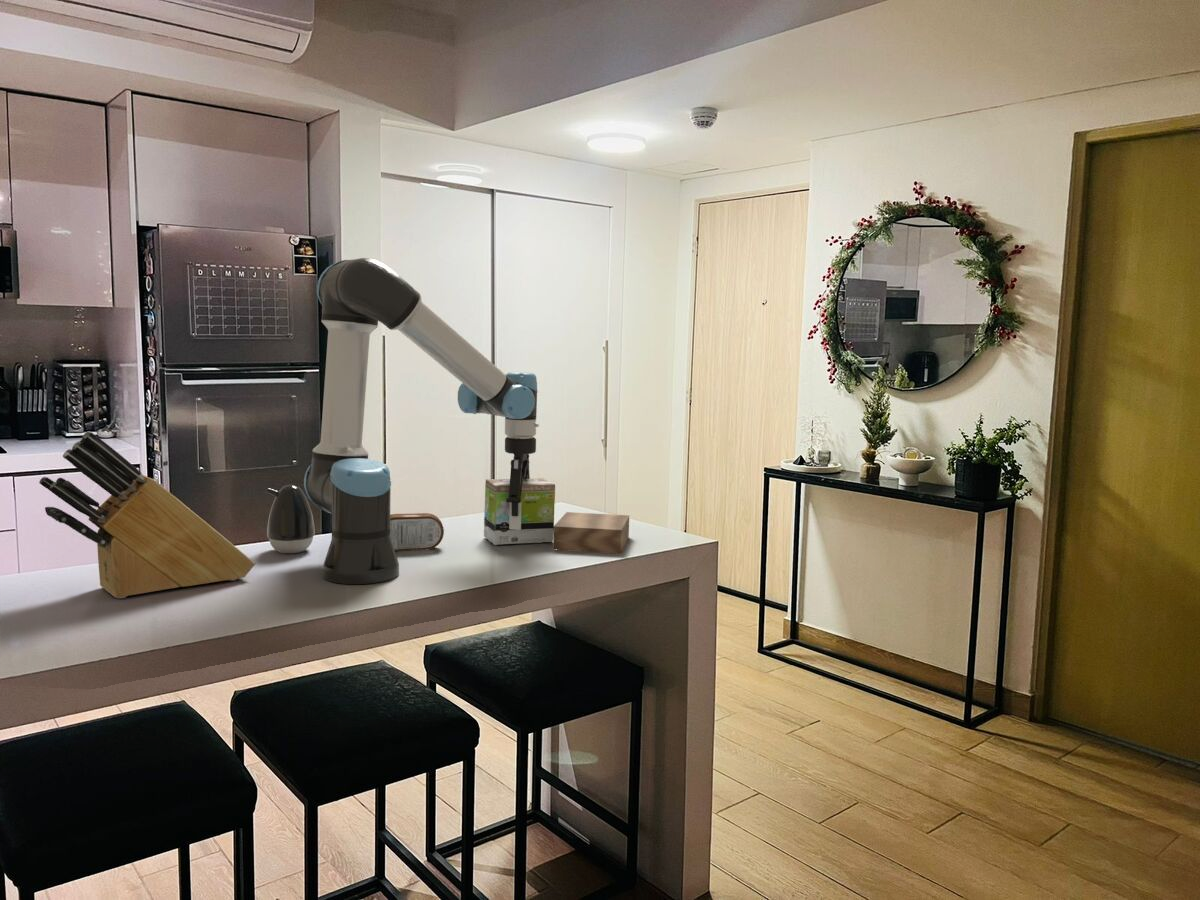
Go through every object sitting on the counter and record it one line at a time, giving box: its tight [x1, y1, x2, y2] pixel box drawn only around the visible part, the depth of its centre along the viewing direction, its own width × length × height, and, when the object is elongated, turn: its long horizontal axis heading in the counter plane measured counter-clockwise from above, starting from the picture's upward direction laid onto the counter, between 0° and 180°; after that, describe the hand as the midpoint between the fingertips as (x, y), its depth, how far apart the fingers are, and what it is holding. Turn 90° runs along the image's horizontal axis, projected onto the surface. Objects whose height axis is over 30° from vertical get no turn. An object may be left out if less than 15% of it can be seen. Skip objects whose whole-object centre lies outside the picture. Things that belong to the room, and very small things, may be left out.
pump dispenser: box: [265, 484, 316, 554], centre depth 209 cm, size 10×10×15 cm
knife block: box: [39, 430, 256, 599], centre depth 176 cm, size 11×35×31 cm, turn 131°
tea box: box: [483, 477, 556, 546], centre depth 226 cm, size 15×10×15 cm, turn 113°
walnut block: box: [552, 511, 630, 555], centre depth 226 cm, size 16×18×6 cm
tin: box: [390, 512, 445, 552], centre depth 214 cm, size 15×3×8 cm, turn 108°
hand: (519, 523), depth 227 cm, fingers closed on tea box, 12 cm apart
